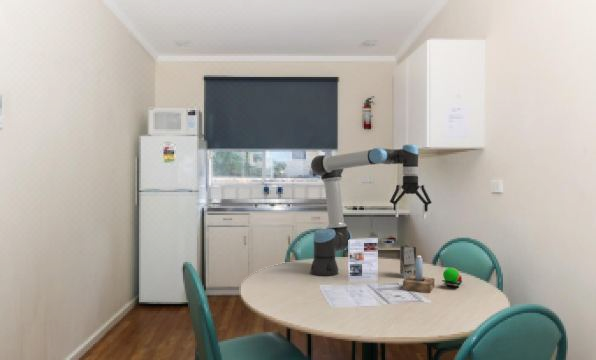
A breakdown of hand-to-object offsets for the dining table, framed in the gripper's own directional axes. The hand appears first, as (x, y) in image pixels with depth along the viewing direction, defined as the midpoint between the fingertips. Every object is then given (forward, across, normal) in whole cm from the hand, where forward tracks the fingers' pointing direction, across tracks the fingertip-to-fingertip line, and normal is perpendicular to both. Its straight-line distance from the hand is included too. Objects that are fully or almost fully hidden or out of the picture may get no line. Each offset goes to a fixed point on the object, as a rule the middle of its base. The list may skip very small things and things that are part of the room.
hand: (410, 217), depth 212 cm
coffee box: (+32, -3, +8) cm, 33 cm away
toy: (+32, +21, -1) cm, 38 cm away
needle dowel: (+32, +7, -13) cm, 35 cm away
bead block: (+32, +7, -13) cm, 35 cm away
